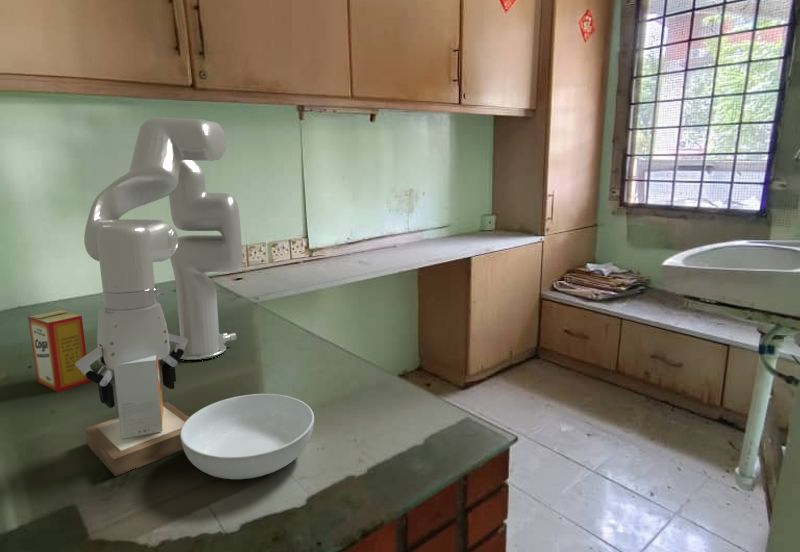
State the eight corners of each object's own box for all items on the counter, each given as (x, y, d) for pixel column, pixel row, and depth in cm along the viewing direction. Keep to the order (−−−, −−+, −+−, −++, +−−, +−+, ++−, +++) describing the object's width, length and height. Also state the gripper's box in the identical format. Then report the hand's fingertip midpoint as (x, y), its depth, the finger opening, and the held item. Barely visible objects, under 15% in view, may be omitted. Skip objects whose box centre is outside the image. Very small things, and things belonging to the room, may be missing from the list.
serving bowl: (182, 514, 66) (178, 469, 65) (184, 440, 85) (181, 404, 84) (329, 478, 74) (328, 438, 73) (300, 418, 93) (299, 385, 92)
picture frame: (168, 415, 94) (167, 400, 93) (202, 441, 84) (201, 424, 84) (86, 444, 83) (84, 427, 83) (115, 476, 74) (113, 458, 74)
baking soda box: (89, 381, 109) (81, 314, 106) (57, 392, 104) (48, 321, 101) (68, 373, 114) (60, 308, 111) (37, 382, 109) (27, 314, 106)
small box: (163, 432, 81) (156, 359, 79) (120, 440, 79) (111, 365, 76) (164, 411, 88) (158, 344, 86) (125, 418, 86) (117, 349, 83)
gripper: (173, 287, 88) (180, 375, 91) (62, 304, 75) (75, 406, 78) (192, 294, 83) (199, 386, 86) (76, 313, 70) (90, 421, 73)
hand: (140, 395), depth 82 cm, fingers open, 9 cm apart
